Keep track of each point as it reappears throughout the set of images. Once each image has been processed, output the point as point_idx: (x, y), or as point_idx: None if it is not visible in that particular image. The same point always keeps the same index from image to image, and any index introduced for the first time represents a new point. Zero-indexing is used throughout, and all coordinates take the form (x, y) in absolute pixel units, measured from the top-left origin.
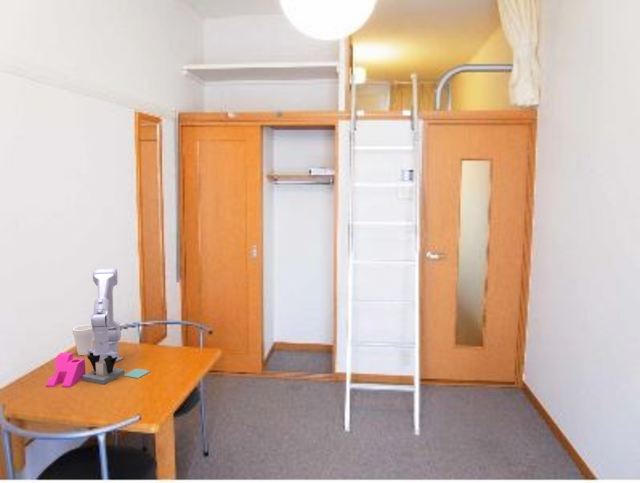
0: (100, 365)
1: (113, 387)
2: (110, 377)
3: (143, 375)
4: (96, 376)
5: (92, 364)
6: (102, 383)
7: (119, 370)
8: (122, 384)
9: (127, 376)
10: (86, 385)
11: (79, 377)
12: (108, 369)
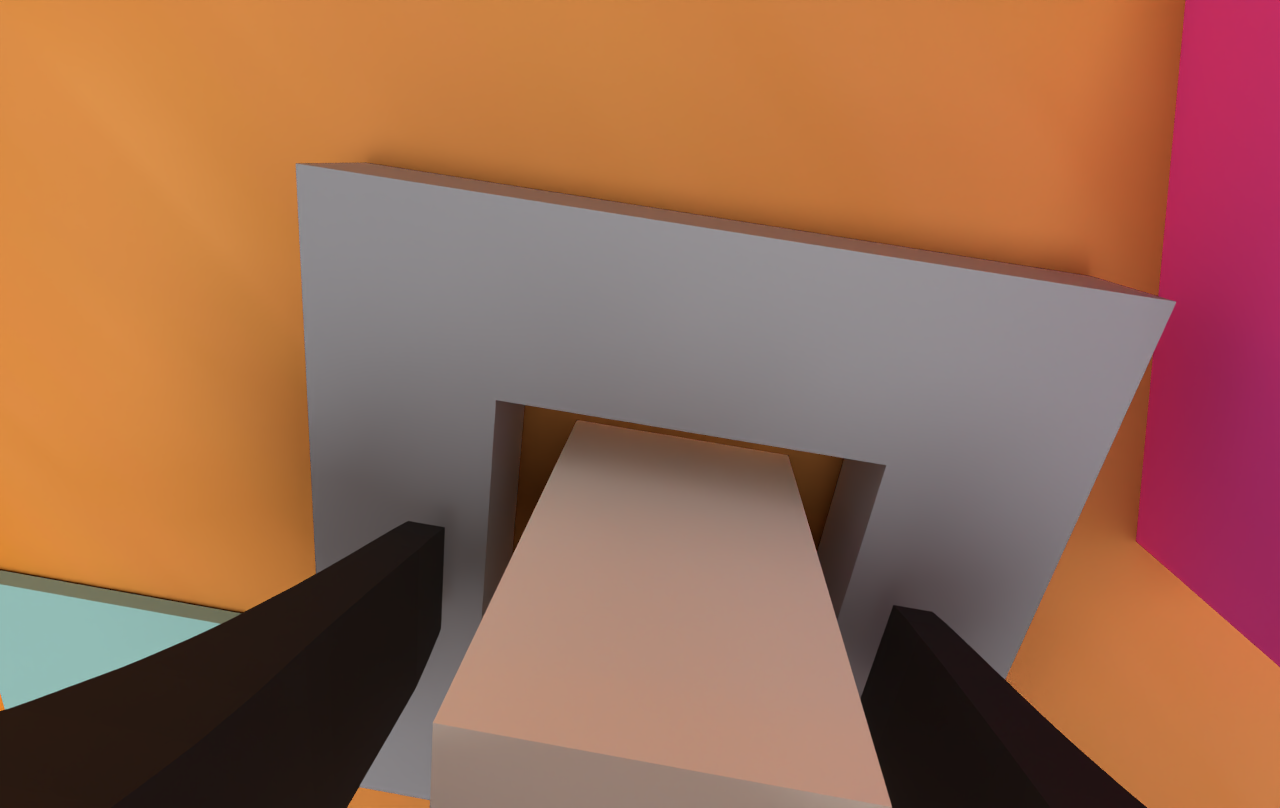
0: (595, 679)
1: (32, 81)
2: (324, 414)
3: (11, 685)
4: (679, 360)
5: (1061, 763)
6: (384, 168)
7: (389, 735)
8: (4, 282)
9: (222, 615)
10: (772, 13)
11: (1219, 295)
12: (314, 575)
